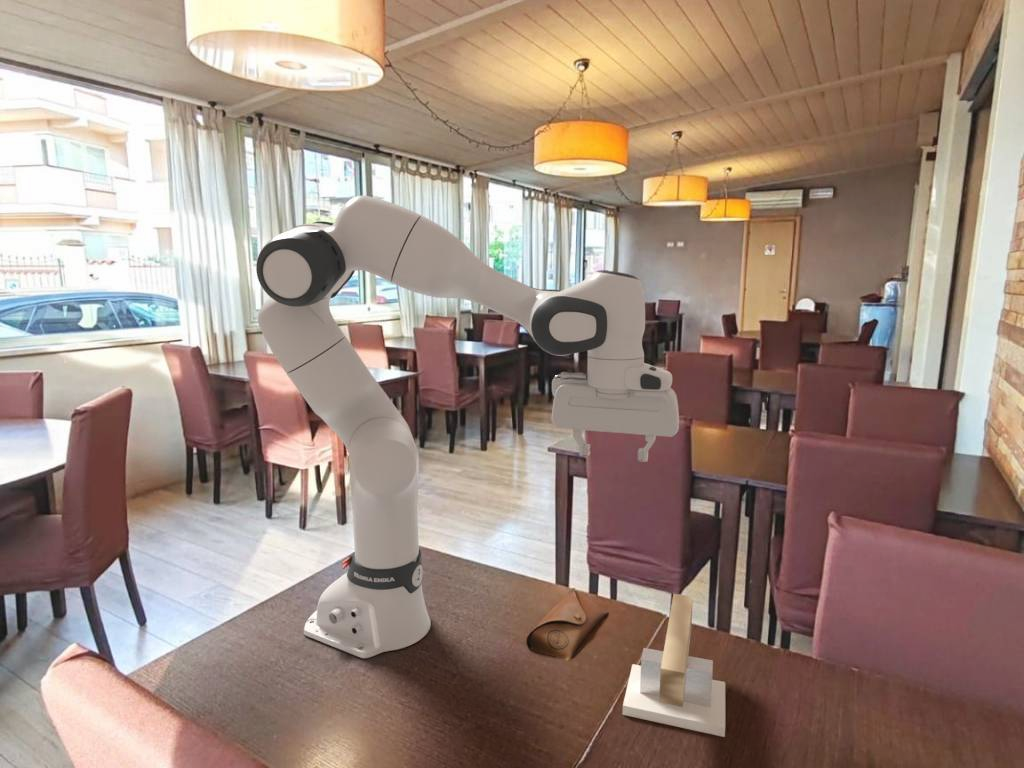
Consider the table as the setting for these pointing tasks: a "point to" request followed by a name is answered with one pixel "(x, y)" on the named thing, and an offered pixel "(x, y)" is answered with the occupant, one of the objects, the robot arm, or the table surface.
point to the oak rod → (676, 651)
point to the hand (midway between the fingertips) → (613, 457)
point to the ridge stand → (699, 700)
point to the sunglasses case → (565, 626)
